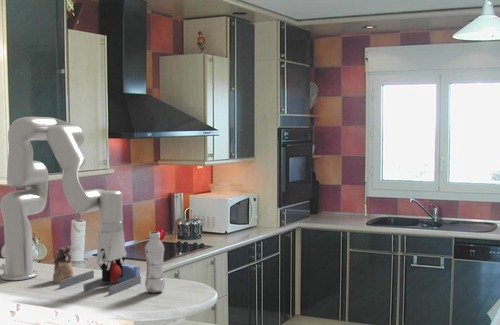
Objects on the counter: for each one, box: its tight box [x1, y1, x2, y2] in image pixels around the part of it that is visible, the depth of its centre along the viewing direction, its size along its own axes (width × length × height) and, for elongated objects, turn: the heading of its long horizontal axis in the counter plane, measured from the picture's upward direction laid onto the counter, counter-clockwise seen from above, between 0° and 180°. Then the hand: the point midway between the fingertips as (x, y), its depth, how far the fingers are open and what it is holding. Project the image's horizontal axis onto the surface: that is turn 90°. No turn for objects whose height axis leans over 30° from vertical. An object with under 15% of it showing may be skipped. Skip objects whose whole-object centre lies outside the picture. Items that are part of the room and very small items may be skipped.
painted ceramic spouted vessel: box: [52, 247, 75, 284], centre depth 218 cm, size 7×7×12 cm
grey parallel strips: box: [59, 270, 142, 296], centre depth 211 cm, size 21×17×2 cm
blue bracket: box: [115, 263, 141, 283], centre depth 214 cm, size 10×4×6 cm, turn 65°
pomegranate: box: [109, 261, 121, 284], centre depth 208 cm, size 6×6×8 cm
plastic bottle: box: [144, 231, 166, 294], centre depth 201 cm, size 6×7×20 cm
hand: (112, 278), depth 208 cm, fingers closed on pomegranate, 5 cm apart
